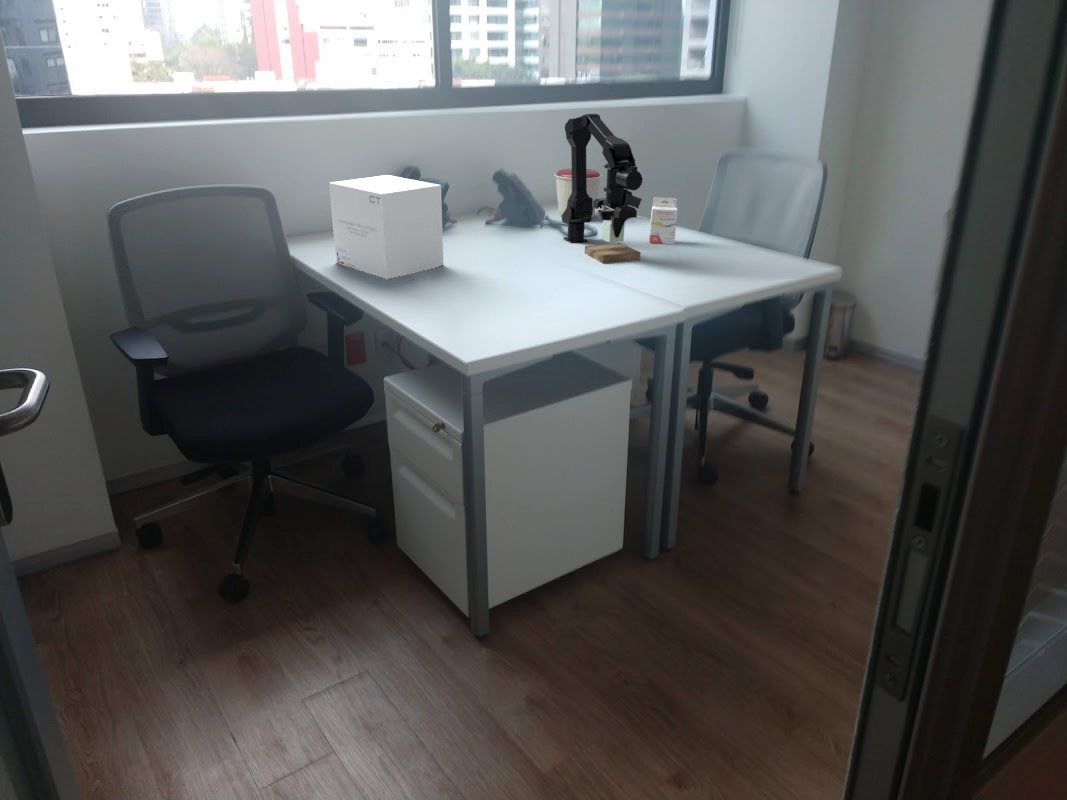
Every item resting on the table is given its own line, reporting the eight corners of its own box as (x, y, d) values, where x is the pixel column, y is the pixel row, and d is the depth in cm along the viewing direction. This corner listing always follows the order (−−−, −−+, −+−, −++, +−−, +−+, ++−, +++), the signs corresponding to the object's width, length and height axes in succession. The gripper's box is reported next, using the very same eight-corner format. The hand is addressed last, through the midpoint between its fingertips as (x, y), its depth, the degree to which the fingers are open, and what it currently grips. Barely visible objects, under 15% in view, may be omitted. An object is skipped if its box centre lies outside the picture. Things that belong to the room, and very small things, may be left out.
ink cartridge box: (649, 243, 275) (652, 199, 269) (648, 240, 280) (652, 197, 274) (674, 244, 274) (678, 200, 268) (673, 241, 279) (677, 197, 273)
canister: (586, 225, 300) (589, 166, 291) (544, 219, 308) (545, 162, 299) (608, 217, 314) (610, 161, 305) (567, 211, 322) (568, 157, 314)
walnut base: (584, 255, 261) (585, 245, 260) (620, 251, 266) (620, 242, 265) (602, 265, 250) (603, 255, 249) (639, 261, 255) (640, 252, 254)
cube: (336, 264, 246) (328, 182, 236) (392, 252, 260) (387, 174, 250) (387, 281, 231) (381, 193, 221) (443, 267, 245) (440, 185, 235)
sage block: (602, 239, 257) (603, 220, 255) (616, 237, 259) (617, 219, 256) (609, 242, 253) (610, 223, 250) (623, 241, 255) (624, 222, 252)
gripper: (654, 188, 244) (650, 240, 250) (624, 178, 259) (621, 227, 266) (621, 190, 240) (618, 242, 246) (593, 180, 255) (591, 229, 262)
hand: (612, 235), depth 255 cm, fingers closed on sage block, 5 cm apart
